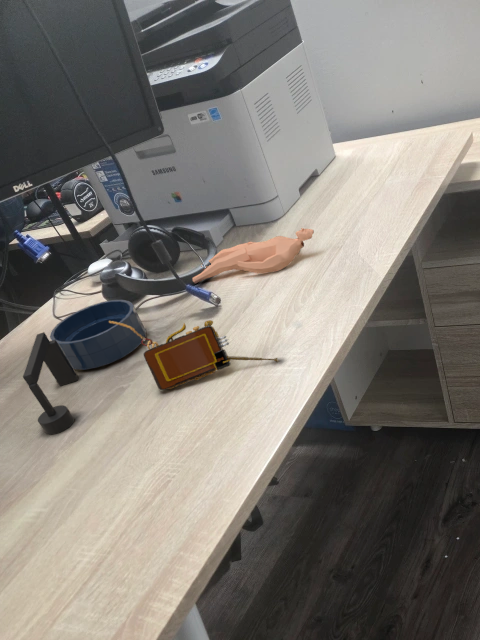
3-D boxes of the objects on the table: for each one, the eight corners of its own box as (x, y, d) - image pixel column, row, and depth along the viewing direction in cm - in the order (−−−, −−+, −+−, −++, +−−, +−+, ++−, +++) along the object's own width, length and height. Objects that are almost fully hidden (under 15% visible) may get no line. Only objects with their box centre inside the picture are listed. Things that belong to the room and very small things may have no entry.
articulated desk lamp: (72, 428, 94) (39, 378, 88) (43, 438, 94) (8, 388, 88) (82, 375, 106) (54, 328, 101) (56, 384, 106) (26, 337, 100)
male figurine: (198, 249, 129) (315, 214, 123) (210, 272, 133) (324, 239, 126) (183, 272, 122) (306, 236, 115) (195, 296, 125) (316, 263, 118)
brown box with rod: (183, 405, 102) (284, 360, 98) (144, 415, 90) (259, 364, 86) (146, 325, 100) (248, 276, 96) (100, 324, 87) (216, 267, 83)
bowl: (63, 382, 106) (44, 352, 102) (72, 344, 117) (55, 316, 113) (147, 355, 107) (131, 325, 103) (148, 320, 117) (134, 291, 114)
